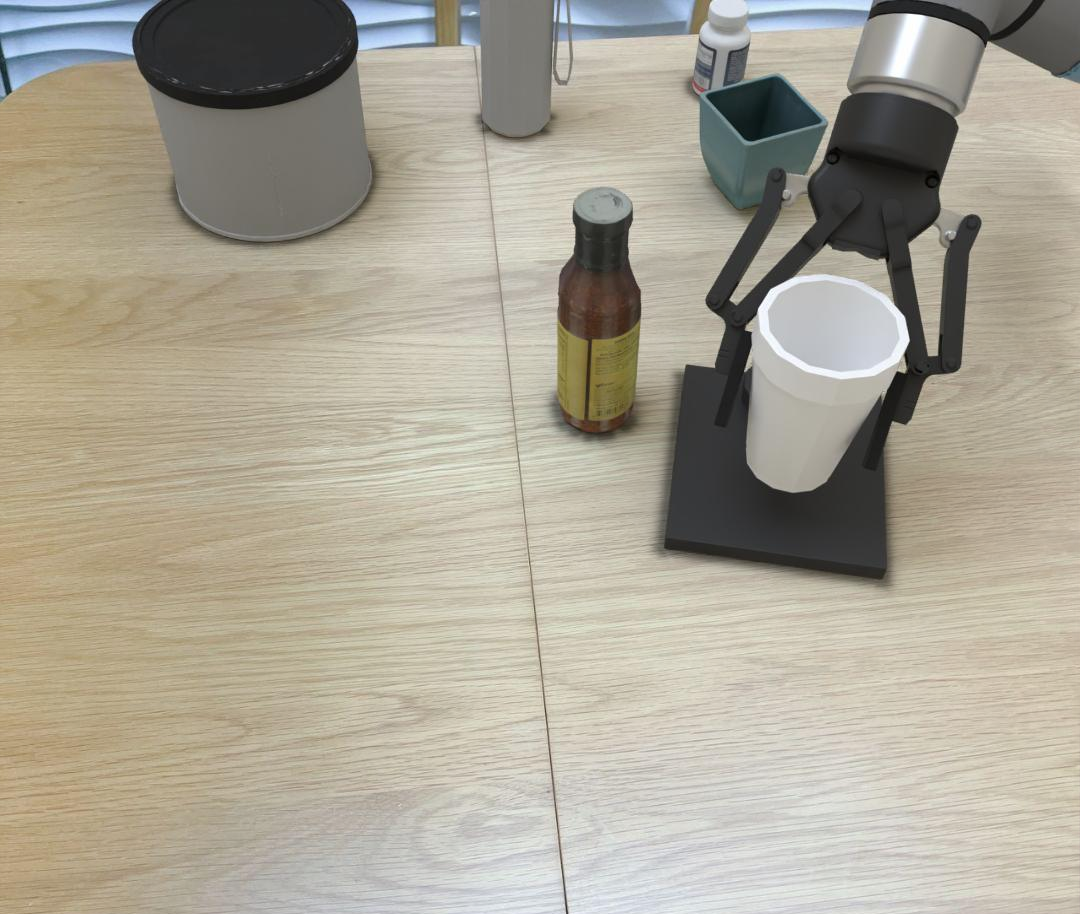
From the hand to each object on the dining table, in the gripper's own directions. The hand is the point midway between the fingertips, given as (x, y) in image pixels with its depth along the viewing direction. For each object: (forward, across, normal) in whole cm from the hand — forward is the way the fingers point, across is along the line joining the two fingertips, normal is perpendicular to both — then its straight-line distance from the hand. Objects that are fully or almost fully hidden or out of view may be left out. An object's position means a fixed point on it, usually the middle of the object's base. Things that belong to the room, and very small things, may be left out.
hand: (793, 446), depth 73 cm
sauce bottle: (+2, +16, -13) cm, 21 cm away
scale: (+3, +1, -12) cm, 12 cm away
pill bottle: (-32, +19, -47) cm, 60 cm away
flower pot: (-21, +11, -36) cm, 43 cm away
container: (-10, +54, -25) cm, 60 cm away
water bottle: (-23, +35, -37) cm, 56 cm away
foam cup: (+1, 0, -6) cm, 6 cm away
